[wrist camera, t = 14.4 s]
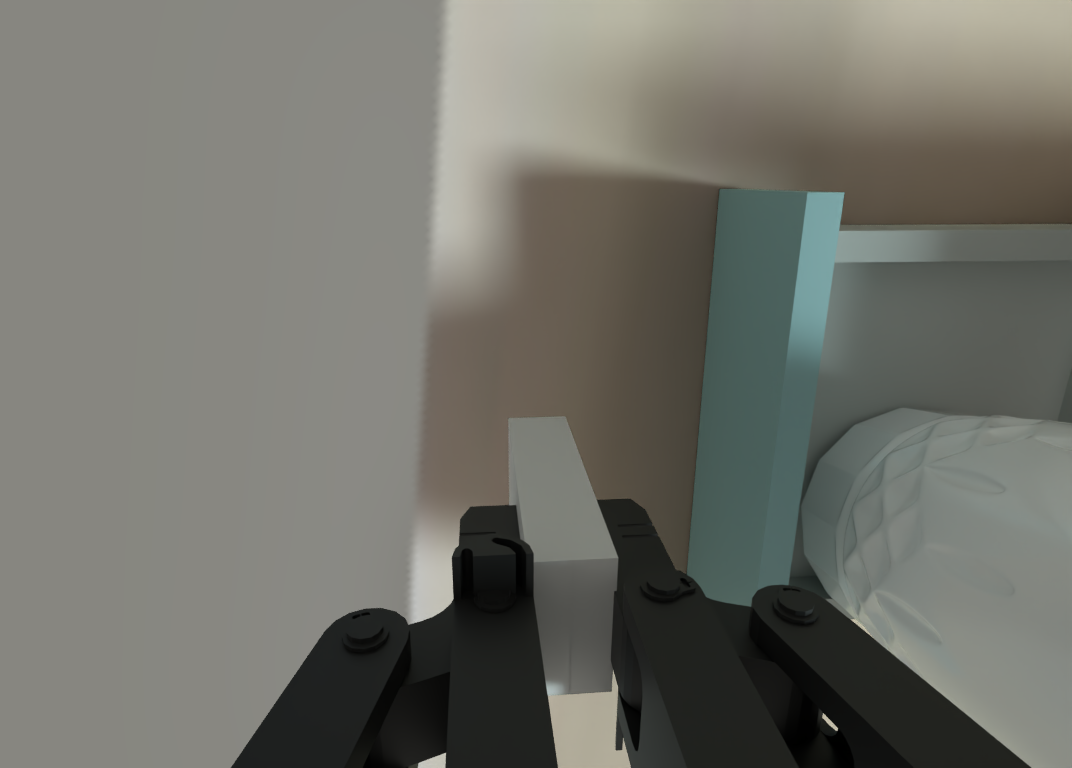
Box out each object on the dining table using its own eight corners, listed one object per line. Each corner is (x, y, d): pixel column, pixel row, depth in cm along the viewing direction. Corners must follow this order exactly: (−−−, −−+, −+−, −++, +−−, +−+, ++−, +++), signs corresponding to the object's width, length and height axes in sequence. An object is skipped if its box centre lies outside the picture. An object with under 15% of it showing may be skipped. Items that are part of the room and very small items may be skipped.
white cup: (890, 682, 20) (1279, 1032, 10) (727, 518, 19) (989, 735, 9) (1067, 508, 20) (1630, 696, 10) (913, 333, 19) (1378, 355, 9)
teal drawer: (719, 188, 18) (807, 192, 13) (1155, 188, 19) (1380, 191, 14) (683, 609, 22) (740, 726, 17) (1040, 588, 23) (1184, 693, 19)
